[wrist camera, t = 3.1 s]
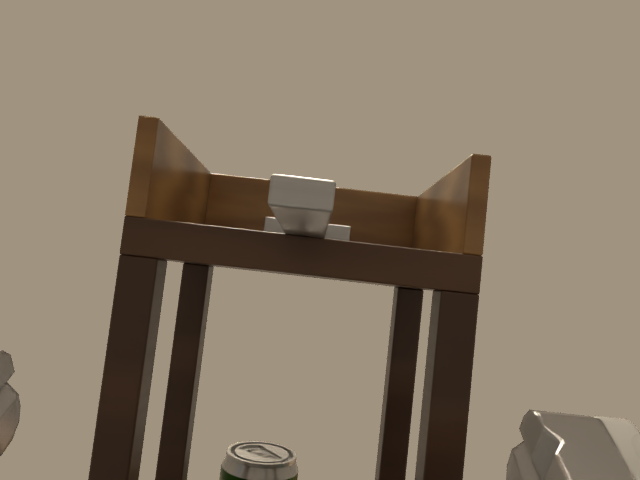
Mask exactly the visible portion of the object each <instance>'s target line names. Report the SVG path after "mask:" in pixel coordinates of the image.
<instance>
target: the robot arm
mask: <svg viewBox="0 0 640 480" xmlns="http://www.w3.org/2000/svg"><path fill="white" fill-rule="evenodd" d="M13 373H14V367H13V363H12V358H11V355H10V354H8V353H6V352H4V351H2V350H0V456H1V455H2V454H3V452H4V451H5V449H6V448H7V446H8V445H9V444H10V442H11V441H12V439H13V436H14V434H15V431H16V428H17V426H18V423H19V417H20V401H19V395H18V393H17V392H16V391H15V390H14V389H13V388H12V387H11V386H10V385H9V384H8V383H7V381H8V380H9V378H10V377H11V376H12V374H13ZM519 429H520V432H521V434H522V437H523V440H524V441H523V442H522V443H520V444H519V445H517V446H516V447H515V448H513V449H512V451H511V454H510V457H509V461H508V464H507V476H506V480H640V432H639V430H638V429H637V428H636V426H635V425H634V424H633V423H632V422H630V421H629V420H627V419H622V418H611V417H600V416H593V417H591V416H584V415H574V414H564V413H555V412H546V411H536V410H529V411H528V412H527V413H526V414H525V416H524V417H523V420H522V422H521V425H520V428H519Z"/></svg>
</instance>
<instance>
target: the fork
mask: <svg viewBox="0 0 640 480" xmlns="http://www.w3.org/2000/svg"><path fill="white" fill-rule="evenodd" d="M335 188H336V183H335V182H334V181H333V180H325V179H316V178H307V177H298V176H289V175H280V174H272V176H271V179H270V187H269V195H268V205H269V207H270V209H271V210H272V212H273V214H274V215H275V217H276V218H272V217H265V222H264V230H263V231H265V232H274V233H282V234H291V235H300V236H309V237H318V238H327V239H336V240H344V241H349V240H350V230H351V227H350V226H343V225H334V224H329V222H330V218H331V215H332V212H333V206H334V197H335Z"/></svg>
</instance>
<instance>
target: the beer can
mask: <svg viewBox="0 0 640 480" xmlns="http://www.w3.org/2000/svg"><path fill="white" fill-rule="evenodd" d="M297 475H298V467H297V464H296V453H295V452H294V451H293V450H292V449H290V448H288V447H286V446H283V445H280V444H275V443H270V442H262V441H245V442H238V443H234V444H232V445H230V446H229V447H228V448H227V451H226V457H225V459H224V461H223V462H222V465H221V472H220V480H297Z"/></svg>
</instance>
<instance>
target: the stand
mask: <svg viewBox="0 0 640 480" xmlns="http://www.w3.org/2000/svg"><path fill="white" fill-rule="evenodd" d="M490 166H491V156H489V155H480V154H472V155H471V156H470V157H468V158H467V159H465V160H464V161H463V162H462V163H460V164H459V165H458V166H456V167H455V168H454V169H453V170H451V171H450V172H449V173H448V174H446V175H445V176H444V177H442V178H441V179H440V180H439V181H437V182H436V183H435V184H434V185H432V186H431V187H430V188H428V189H427V190H426V191H425V192H423V193H422V194H421V195H420V196H418V197H415V196H407V195H398V194H389V193H381V192H372V191H363V190H354V189H345V188H335V197H334V206H333V212H332V215H331V218H330V222H329V224H334V225H343V226H350V227H351V230H350V240H349V241H344V240H336V239H327V238H318V237H309V236H300V235H291V234H282V233H274V232H265V231H263V230H264V222H265V217H272V218H276V217H275V215H274V214H273V212H272V210H271V209H270V207H269V205H268V195H269V187H270V180H266V179H256V178H249V177H240V176H231V175H222V174H212V173H210V172H209V171H208V170H207V169H206V168H205V167H204V165H203V164H202V163H201V162H200V161H199V160H198V159H197V158H196V157H195V156H194V155H193V154H192V153H191V152H190V151H189V150H188V149H187V147H186V146H185V145H184V144H183V143H182V142H181V141H180V140H179V139H178V138H177V137H176V136H175V135H174V134H173V133H172V132H171V131H170V129H169V128H168V127H167V126H166V125H165V124H164V123H163V122H162V121H161V120H160V119H159V118H157V117H149V116H139V119H138V127H137V133H136V141H135V148H134V155H133V162H132V169H131V176H130V183H129V192H128V198H127V205H126V212H125V215H126V216H125V219H124V226H123V233H122V240H121V248H120V254H122V255H120V258H119V265H118V272H117V279H116V286H115V293H114V300H113V307H112V314H111V321H110V329H109V336H108V343H107V350H106V358H105V365H104V371H103V379H102V386H101V393H100V401H99V407H98V414H97V421H96V429H95V436H94V443H93V450H92V457H91V465H90V472H89V479H88V480H138V477H139V469H140V462H141V454H142V447H143V440H144V432H145V425H146V417H147V410H148V402H149V395H150V387H151V380H152V372H153V365H154V357H155V350H156V342H157V334H158V327H159V319H160V312H161V304H162V297H163V290H164V282H165V275H166V267H167V261H175V262H182V263H184V264H183V271H182V279H181V286H180V294H179V302H178V310H177V317H176V325H175V332H174V340H173V348H172V355H171V363H170V370H169V378H168V386H167V393H166V401H165V409H164V416H163V424H162V432H161V440H160V447H159V454H158V462H157V470H156V478H155V480H187V472H188V464H189V456H190V449H191V441H192V432H193V425H194V417H195V409H196V401H197V393H198V385H199V377H200V370H201V361H202V354H203V346H204V338H205V329H206V322H207V314H208V306H209V299H210V290H211V283H212V275H213V266H216V267H226V268H235V269H243V270H252V271H261V272H269V273H278V274H287V275H297V276H305V277H314V278H323V279H332V280H341V281H350V282H358V283H368V284H377V285H385V286H394V287H395V288H394V297H393V307H392V317H391V327H390V336H389V346H388V356H387V366H386V376H385V386H384V396H383V405H382V415H381V425H380V435H379V445H378V455H377V465H376V475H375V480H405V476H406V465H407V455H408V444H409V434H410V424H411V414H412V403H413V393H414V383H415V373H416V362H417V352H418V341H419V332H420V322H421V311H422V300H423V290H433V296H432V306H431V317H430V327H429V338H428V349H427V358H426V369H425V379H424V389H423V400H422V410H421V422H420V431H419V441H418V452H417V462H416V473H415V480H462V478H463V468H464V457H465V445H466V433H467V424H468V412H469V401H470V390H471V377H472V368H473V357H474V345H475V334H476V323H477V312H478V301H479V295H477V294H479V292H480V281H481V269H482V258H483V257H482V256H481V255H482V254H483V244H484V233H485V222H486V211H487V200H488V189H489V178H490Z"/></svg>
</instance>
